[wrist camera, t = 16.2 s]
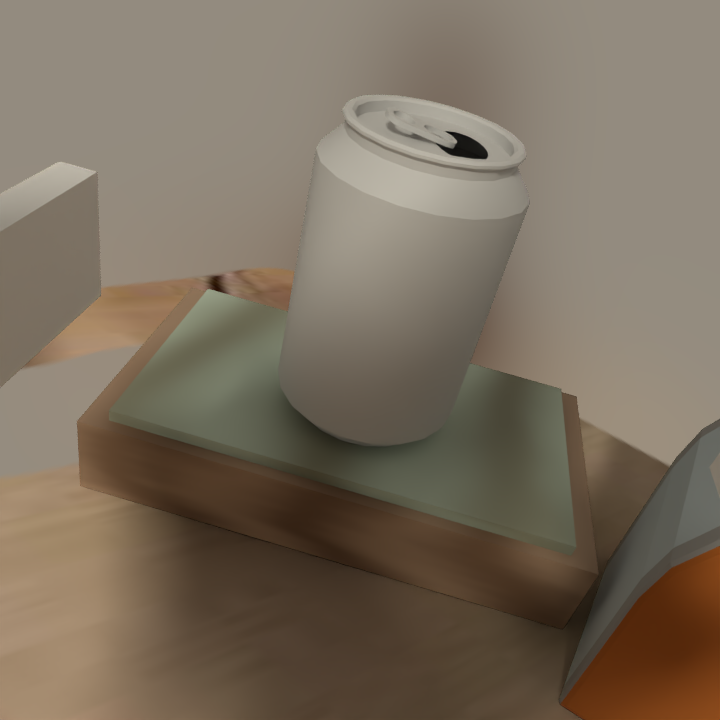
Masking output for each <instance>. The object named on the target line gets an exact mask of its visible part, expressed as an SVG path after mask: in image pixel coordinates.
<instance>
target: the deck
mask: <svg viewBox="0 0 720 720" xmlns="http://www.w3.org/2000/svg"><path fill="white" fill-rule="evenodd" d="M287 315H288V311H284V310H281V309H277V308H274V307H270V306H266V305H263V304H259V303H256V302H252V301H249V300H245V299H242V298H238V297H235V296H231V295H228V294H224V293H221V292H217V291H214V290H210V289H208V290H207V291H203V290H199V289H195V288H191V290H190V291H189V292H188V293H187V294H186V295H185V297H184V298H183V299H182V300H181V301H180V302H179V304H178V305H177V306H176V307H175V308H174V309H173V310H172V312H171V313H170V314H169V315H168V316H167V317H166V319H165V320H164V321H163V322H162V323H161V324H160V326H159V327H158V328H157V329H156V330H155V331H154V333H153V334H152V335H151V336H150V337H149V338H148V339H147V341H146V342H145V343H144V344H143V345H142V346H141V348H140V349H139V350H138V351H137V352H136V354H135V355H134V356H133V357H132V358H131V359H130V361H129V362H128V363H127V364H126V365H125V366H124V368H123V369H122V370H121V371H120V372H119V373H118V374H117V375H116V377H115V378H114V379H113V380H112V381H111V382H110V384H109V385H108V386H107V387H106V388H105V389H104V391H103V392H102V393H101V394H100V395H99V396H98V398H97V399H96V400H95V401H94V402H93V403H92V405H91V406H90V407H89V408H88V409H87V411H85V413H84V414H83V415H82V416H81V417H80V418H79V420H78V421H77V428H78V450H79V470H80V486H83V487H86V488H90V489H93V490H96V491H100V492H103V493H106V494H110V495H113V496H117V497H120V498H123V499H127V500H130V501H133V502H137V503H140V504H143V505H147V506H150V507H154V508H157V509H160V510H164V511H167V512H170V513H174V514H177V515H180V516H184V517H187V518H190V519H194V520H197V521H201V522H204V523H207V524H211V525H214V526H217V527H221V528H224V529H227V530H231V531H234V532H237V533H241V534H244V535H248V536H251V537H254V538H258V539H261V540H264V541H268V542H271V543H274V544H278V545H281V546H285V547H288V548H291V549H295V550H298V551H301V552H305V553H308V554H311V555H315V556H318V557H321V558H325V559H328V560H332V561H335V562H338V563H342V564H345V565H348V566H352V567H355V568H358V569H362V570H365V571H369V572H372V573H375V574H379V575H382V576H385V577H389V578H392V579H395V580H399V581H402V582H405V583H409V584H412V585H416V586H419V587H422V588H426V589H429V590H432V591H436V592H439V593H442V594H446V595H449V596H453V597H456V598H459V599H463V600H466V601H469V602H473V603H476V604H479V605H483V606H486V607H489V608H493V609H496V610H500V611H503V612H506V613H510V614H513V615H516V616H520V617H523V618H526V619H530V620H533V621H537V622H540V623H543V624H547V625H550V626H553V627H557V628H560V629H563V628H564V627H565V625H566V624H567V622H568V621H569V619H570V618H571V616H572V615H573V613H574V611H575V610H576V608H577V607H578V605H579V604H580V602H581V601H582V599H583V598H584V596H585V595H586V593H587V592H588V590H589V589H590V587H591V586H592V584H593V583H594V581H595V580H596V578H597V577H598V575H599V571H598V563H597V555H596V547H595V539H594V532H593V524H592V516H591V508H590V500H589V492H588V484H587V476H586V468H585V460H584V452H583V444H582V436H581V429H580V421H579V413H578V405H577V397H576V396H573V395H569V394H566V393H562V392H561V389H559V388H556V387H552V386H548V385H545V384H542V383H538V382H535V381H531V380H528V379H524V378H521V377H517V376H514V375H510V374H507V373H503V372H499V371H496V370H492V369H489V368H485V367H481V366H478V365H475V364H471V363H470V364H469V367H468V370H467V372H466V375H465V378H464V380H463V383H462V386H461V388H460V391H459V394H458V396H457V399H456V402H455V404H454V407H453V410H452V412H451V414H450V416H449V417H448V419H447V420H446V422H445V424H444V425H443V427H442V428H441V429H439V430H438V431H436V432H434V433H433V434H431V435H430V436H428V437H426V438H425V439H422V440H418V441H413V442H409V443H404V444H400V445H392V446H388V447H375V446H361V445H357V444H353V443H349V442H345V441H341V440H339V439H337V438H335V437H333V436H331V435H329V434H327V433H325V432H323V431H321V430H320V429H319V428H317V427H316V426H315V425H314V424H313V423H311V422H310V421H309V420H308V419H307V418H306V417H304V416H303V415H302V414H301V413H300V412H299V411H297V410H296V409H295V408H294V407H293V406H292V405H291V404H290V402H289V400H288V399H287V397H286V396H285V394H284V392H283V391H282V389H281V387H280V380H279V372H278V367H279V361H280V355H281V350H282V344H283V338H284V332H285V326H286V320H287Z"/></svg>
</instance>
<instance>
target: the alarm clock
mask: <svg viewBox="0 0 720 720" xmlns="http://www.w3.org/2000/svg"><path fill="white" fill-rule="evenodd" d="M719 453H720V419H719V420H717V421H715V422H714V423H712V424H710V425H709V426H707V427H705V428H704V429H702V430H701V431H700V432H699V434H698V435H697V436H696V437H695V438H694V439H693V440H692V441H691V442H690V443H689V444H688V445H687V447H686V448H685V449H684V450H683V451H682V452H681V453H680V454H679V455H678V456H677V457H676V459H675V460H674V462H673V463H672V465H671V466H670V468H669V469H668V471H667V472H666V474H665V475H664V477H663V478H662V480H661V481H660V483H659V484H658V486H657V487H656V489H655V490H654V492H653V493H652V495H651V497H650V498H649V500H648V501H647V503H646V504H645V506H644V507H643V509H642V510H641V512H640V513H639V515H638V516H637V518H636V519H635V521H634V522H633V524H632V525H631V527H630V528H629V530H628V531H627V533H626V534H625V536H624V537H623V539H622V540H621V542H620V544H619V545H618V547H617V548H616V550H615V551H614V553H613V554H612V556H611V557H610V559H609V560H608V563H607V565H606V568H605V571H604V574H603V577H602V580H601V582H600V585H599V588H598V591H597V594H596V597H595V599H594V602H593V605H592V608H591V611H590V614H589V616H588V619H587V622H586V625H585V628H584V631H583V633H582V636H581V639H580V642H579V645H578V648H577V650H576V653H575V656H574V659H573V662H572V664H571V667H570V670H569V673H568V676H567V679H566V681H565V684H564V687H563V690H562V693H561V696H560V698H559V703H560V705H562V706H563V707H565V708H566V709H568V710H569V711H571V712H573V713H574V714H576V715H577V716H579V717H580V718H582V719H583V720H720V497H719V494H718V491H717V488H716V486H715V483H714V480H713V477H712V474H711V471H710V468H709V467H710V466H711V464H712V463H713V461H714V460H715V459H716V457H717V456H718V454H719Z"/></svg>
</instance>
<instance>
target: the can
mask: <svg viewBox="0 0 720 720" xmlns="http://www.w3.org/2000/svg"><path fill="white" fill-rule="evenodd" d="M342 114H343V116H344V118H345V122H344V123H342V124H341V125H340V126H338V127H337V128H336V129H334V130H333V131H332V132H331V133H329V134H328V135H326V136H325V137H324V138H322V140H321V141H320V143H319V145H318V146H317V148H316V151H315V157H314V163H313V169H312V175H311V181H310V187H309V192H308V198H307V204H306V210H305V215H304V221H303V227H302V233H301V239H300V245H299V250H298V256H297V263H296V268H295V274H294V280H293V285H292V291H291V297H290V303H289V309H288V315H287V320H286V326H285V332H284V338H283V344H282V350H281V355H280V361H279V367H278V372H279V380H280V387H281V389H282V391H283V392H284V394H285V396H286V397H287V399H288V400H289V402H290V404H291V405H292V406H293V407H294V408H295V409H296V410H297V411H299V412H300V413H301V414H302V415H303V416H304V417H306V418H307V419H308V420H309V421H310V422H311V423H313V424H314V425H315V426H316V427H317V428H319V429H320V430H321V431H323V432H325V433H327V434H329V435H331V436H333V437H335V438H337V439H339V440H341V441H345V442H349V443H353V444H357V445H361V446H375V447H388V446H392V445H400V444H404V443H409V442H413V441H418V440H422V439H425V438H426V437H428V436H430V435H431V434H433V433H434V432H436V431H438V430H439V429H441V428H442V427H443V425H444V424H445V422H446V420H447V419H448V417H449V416H450V414H451V412H452V410H453V407H454V404H455V402H456V399H457V396H458V394H459V391H460V388H461V386H462V383H463V380H464V378H465V375H466V372H467V370H468V367H469V364H470V361H471V359H472V356H473V353H474V351H475V348H476V345H477V343H478V340H479V337H480V334H481V332H482V329H483V327H484V324H485V321H486V319H487V316H488V313H489V311H490V308H491V305H492V303H493V300H494V297H495V295H496V292H497V289H498V286H499V284H500V281H501V279H502V276H503V273H504V271H505V268H506V265H507V263H508V259H509V257H510V255H511V252H512V249H513V247H514V244H515V241H516V239H517V236H518V233H519V231H520V228H521V225H522V223H523V220H524V217H525V215H526V212H527V209H528V207H529V204H530V200H529V195H528V191H527V188H526V186H525V184H524V182H523V179H522V177H521V174H520V172H519V170H518V166H519V165H520V164H521V163H522V162H523V161H524V160H525V159H526V157H527V155H526V151H525V147H524V145H523V143H522V142H520V141H519V140H518V139H517V138H516V137H515V136H514V135H513V134H512V133H510V132H508V131H507V130H505V129H504V128H502V127H500V126H499V125H497V124H495V123H493V122H491V121H489V120H486V119H484V118H482V117H480V116H477V115H475V114H472V113H468V112H466V111H463V110H460V109H457V108H454V107H451V106H447V105H443V104H439V103H435V102H431V101H428V100H422V99H416V98H410V97H404V96H392V95H367V96H360V97H357V98H354V99H351V100H349V101H348V102H347V103H346V104H345V106H344V107H343V109H342Z"/></svg>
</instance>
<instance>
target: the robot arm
mask: <svg viewBox="0 0 720 720" xmlns="http://www.w3.org/2000/svg"><path fill="white" fill-rule="evenodd" d="M100 279H101V276H100V242H99V209H98V177H97V172H96V171H92V170H89V169H85V168H81V167H78V166H74V165H70V164H67V163H63V162H58V163H56V164H54V165H52V166H50V167H48V168H47V169H45V170H43V171H41V172H39V173H37V174H36V175H34V176H32V177H30V178H28V179H26V180H24V181H23V182H21V183H19V184H17V185H15V186H13V187H12V188H10V189H8V190H6V191H4V192H2V193H0V387H1V386H3V385H4V384H5V383H6V382H7V381H8V380H9V379H10V378H11V377H12V376H13V375H14V374H16V373H17V372H18V371H19V370H20V369H21V368H22V367H23V366H24V365H26V364H27V363H28V362H29V361H30V360H31V359H32V358H33V357H34V356H35V355H36V354H38V353H39V352H40V351H41V350H42V349H43V348H44V347H45V346H46V345H47V344H49V343H50V342H51V341H52V340H53V339H54V338H55V337H56V336H57V335H58V334H59V333H61V332H62V331H63V330H64V329H65V328H66V327H67V326H68V325H69V324H70V323H71V322H73V321H74V320H75V319H76V318H77V317H78V316H79V315H80V314H81V313H82V312H84V311H85V310H86V309H87V308H88V307H89V306H90V305H91V304H92V303H93V302H94V301H96V300H97V299H98V298H99V297H100V296H101V280H100ZM709 468H710V471H711V474H712V477H713V480H714V483H715V486H716V488H717V491H718V494H719V497H720V453H719V454H718V456H717V457H716V459H715V460H714V461H713V463H712V464H711V466H710V467H709Z"/></svg>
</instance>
